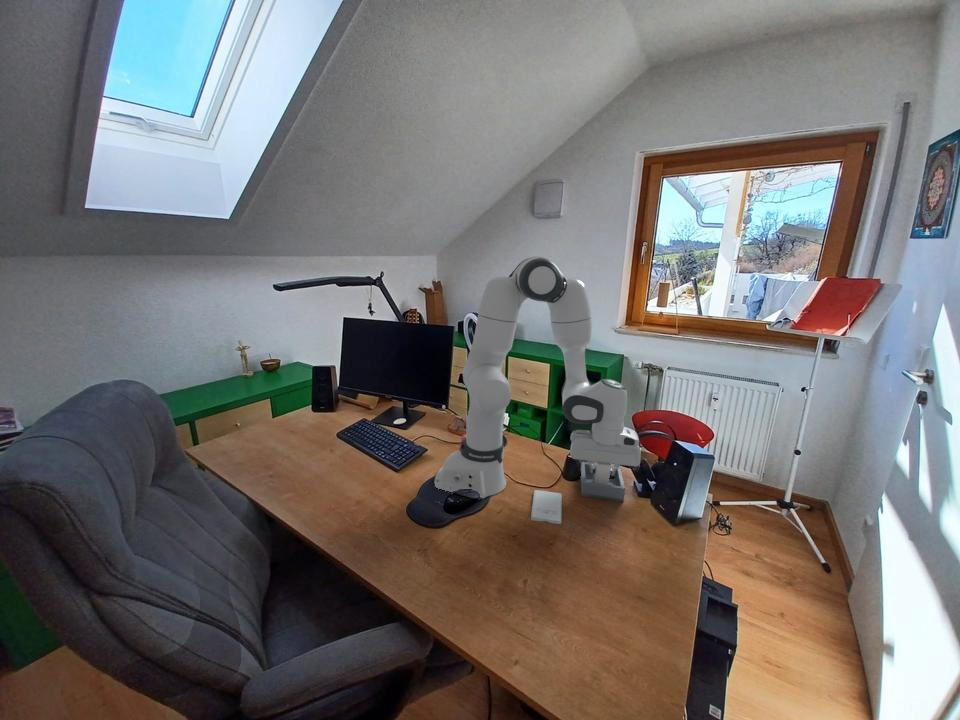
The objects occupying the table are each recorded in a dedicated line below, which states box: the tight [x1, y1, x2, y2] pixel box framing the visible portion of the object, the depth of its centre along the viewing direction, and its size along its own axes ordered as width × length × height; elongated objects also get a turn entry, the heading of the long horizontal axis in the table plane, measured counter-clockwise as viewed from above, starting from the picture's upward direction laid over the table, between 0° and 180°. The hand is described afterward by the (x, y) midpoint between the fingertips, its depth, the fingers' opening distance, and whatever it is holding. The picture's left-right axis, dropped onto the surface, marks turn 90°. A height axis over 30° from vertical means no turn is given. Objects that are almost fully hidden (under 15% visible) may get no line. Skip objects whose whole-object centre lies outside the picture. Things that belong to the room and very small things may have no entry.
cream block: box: [594, 462, 612, 485], centre depth 118 cm, size 4×4×7 cm
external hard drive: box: [530, 489, 563, 525], centre depth 110 cm, size 2×8×12 cm
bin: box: [579, 461, 626, 503], centre depth 119 cm, size 12×12×4 cm
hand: (602, 473), depth 119 cm, fingers closed on cream block, 4 cm apart
